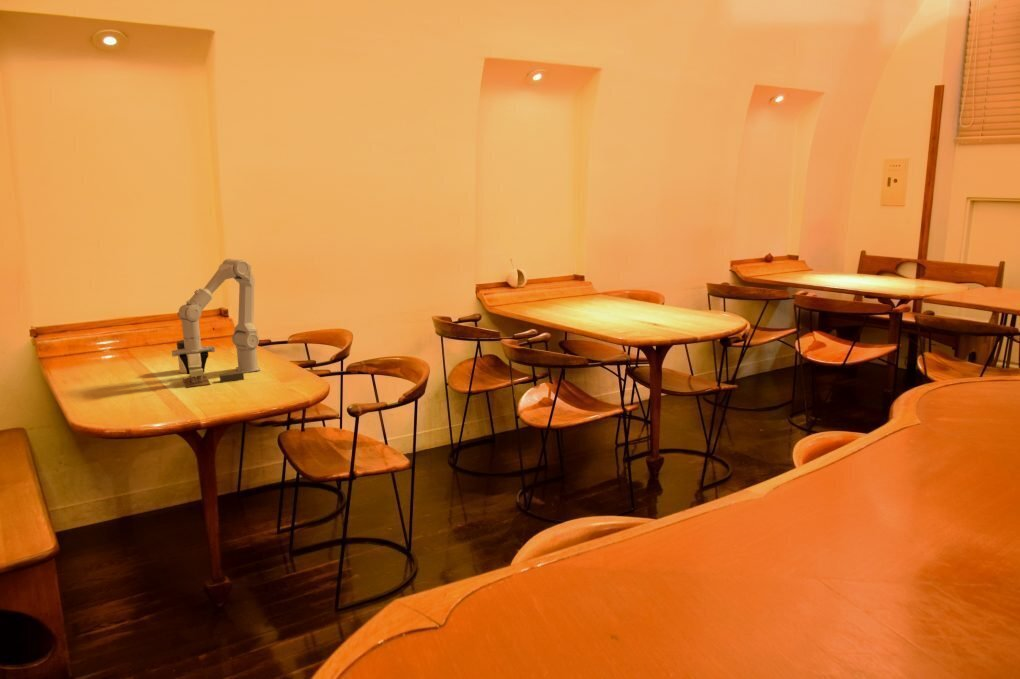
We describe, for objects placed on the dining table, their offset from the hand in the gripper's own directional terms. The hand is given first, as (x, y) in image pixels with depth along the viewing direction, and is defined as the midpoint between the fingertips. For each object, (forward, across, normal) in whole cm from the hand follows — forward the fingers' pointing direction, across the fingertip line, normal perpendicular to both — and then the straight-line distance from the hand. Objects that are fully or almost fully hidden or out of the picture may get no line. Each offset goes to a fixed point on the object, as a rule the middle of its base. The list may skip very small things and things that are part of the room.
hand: (195, 372), depth 274 cm
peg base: (+4, 0, 0) cm, 4 cm away
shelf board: (0, 0, 0) cm, 0 cm away
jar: (+4, 0, +21) cm, 21 cm away
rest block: (+4, +12, -4) cm, 13 cm away
